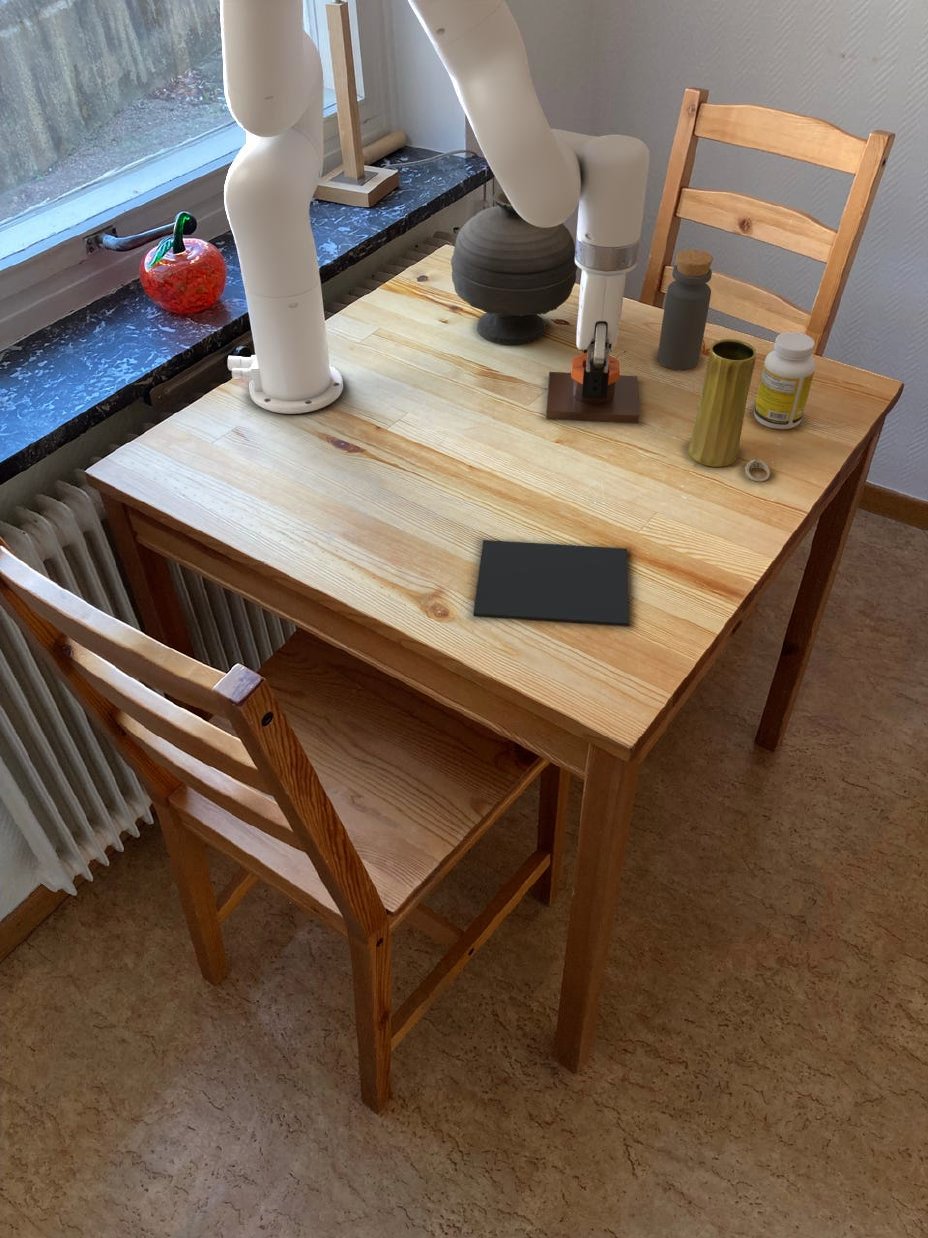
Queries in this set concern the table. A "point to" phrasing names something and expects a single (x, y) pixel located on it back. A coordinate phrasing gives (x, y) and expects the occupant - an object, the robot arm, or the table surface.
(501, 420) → the table surface
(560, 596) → the mat
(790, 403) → the pill bottle
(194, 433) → the table surface
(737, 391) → the vase
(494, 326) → the pot
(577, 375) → the orange ring
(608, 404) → the stand
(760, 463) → the ring
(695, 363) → the bottle
